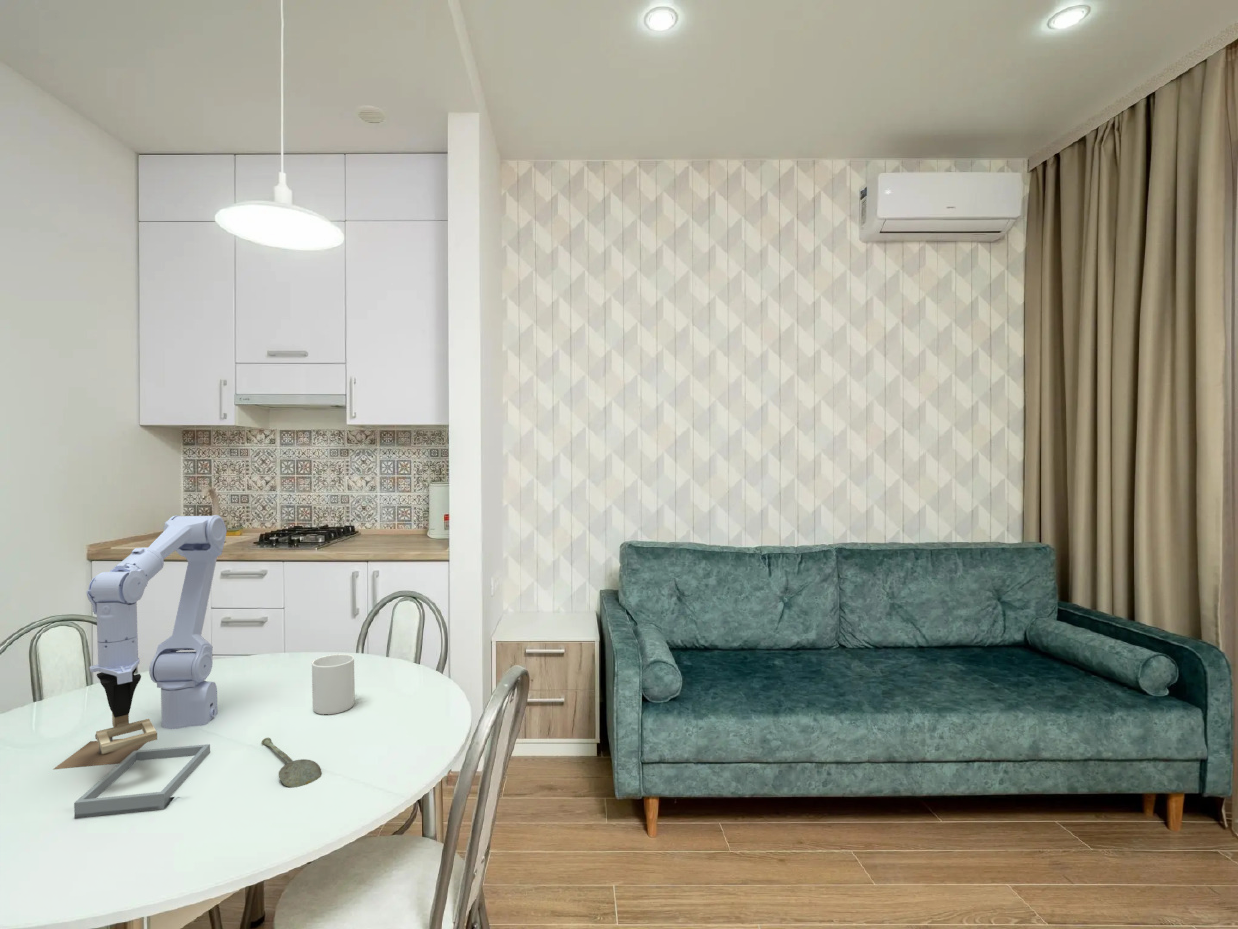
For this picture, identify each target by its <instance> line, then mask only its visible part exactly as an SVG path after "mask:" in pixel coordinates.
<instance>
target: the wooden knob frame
mask: <svg viewBox="0 0 1238 929" xmlns="http://www.w3.org/2000/svg"><path fill="white" fill-rule="evenodd" d="M111 716H112V718H111V719H112V720H111V721H112V727H109V728H106V729H102V730H101V729H100V730H97V731H95V735H96V739H95V740H96V741H97V742H98V744H99V747H100V750H101V752H102V754H105V753H109V752H113V751H116V750H120V749H124V748H128V747H131V746H135V745H139V744H143V743H145V744H147V743H150V742H154V741H157V740H158V732H157V730H156V728H155V727H154V725H153V723H152V722H151V719H150V718H146V719H142V720H138V721H137V720H136V721H132V722H130V720H129V719H130V713H129V714H128V715H124V716H120V717H116V718H115V717H114V715H113V713H112V712H111ZM141 730H142V732H143V733H141V734H140V733H139V734H136V735H133V736H128V737H124V738H119V739H120V740H117V741H113V742H110V740H109V738H110V737H112V738H114V737H118V736H121V735H125V734H131V733H133V732H137V731H141ZM146 742H147V743H146Z"/></svg>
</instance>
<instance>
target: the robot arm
mask: <svg viewBox="0 0 1238 929" xmlns="http://www.w3.org/2000/svg"><path fill="white" fill-rule="evenodd" d="M227 532H228V530H227V526H226V524H225V521H224V520H223V517H222V516H221V515H218V514H213V515H179V514H177V515H173V516H171V517H170V518H169V519H168V520H166V521H164V526H163V532H161V533H160V535H158V537H156V539H155V540H154V541H153V542H151V544H150V545H149V546H147V547H135V548H134V549H132V550H131V553H130V554H129V555H128V556H127V557H125V558H124V559H122V561H120V562H118V563H117V564H116V565H115V566H114V567H113V568H112V569H111V570H110V571H102V572H100V573H98V574H97V575H95V576H94V577H92V579H91V581H90V582H89V585H88V588H87V589H88V590H86V596H87V600H88V601H89V603H90V604H91V607H92V612H93V614H94V615H95V616H96V636H97V637H96V638H97V640H96V641H97V643H96V644H97V664H94V665H90V666H89V672H90V673H96V676H97V679H98V680H99V683H100V684H101V686H102V687H103V689H104V692H105V695H106V699H107V700H106V701H107V703H108V707H109V709H110V711H111V714H112V713H113V715H114V717H115V718H116V717H120V716H124V715H128V714H129V715H130V711H131V708H132V702H133V698H134V693H135V691H136V689H137V687H138V684H139V682H140V681H141V679H142V675H141V673H137V674H135V673H136V671H137V667H138V666H139V664H140V661H141V660H140V657H139V645H138V644H139V642H138V640H139V638H138V634H139V633H138V606H137V605H138V604H137V603H138V601H140V600H141V599H142V597H143V595H144V592H145V589H146V587H148V583H149V582H150V581H151V579H153V578H154V577H155V576H157V574H159V572H160V571H161V570H162V569H163V568H164V566H165V563H164V561H165V559H166V558H168V557H169V556H171V554H173V553H175V552H176V553H177V554H178V555H179V556H181V557H183V558H185V559H186V560H187V566H186V571H185V575H184V581H183V584H182V590H181V593H180V597H179V598H180V599H179V602H178V606H177V607H178V608H177V612H176V616H175V621H174V626H173V631H172V635H171V636H170V637H168V638H166V639H165V640H163V641H162V642H161V643H160V644H158V645H157V648H156V651H155V654H154V656H153V658H152V660H151V662H150V665H149V669H148V674H149V678H150V680H151V681H152V683H154V684H155V683H156V688H158V689H160V706H161V707H160V709H161V710H160V712H161V727H162V728H164V729H165V730H175V729H176V730H177V729H182V728H189V727H190V728H191V727H199V726H200V727H201V726H207V725H208V724H209V723H210V721H212V720H213V719H214V718H215V717H216V716H217V715H218V712H219V711H218V688H217V684H216V682H215V681H208V680H207V678H208V677H209V676H210V674H211V672H212V670H213V645H212V644H211V643H210V642H209V641H207V640H206V639H205V638H204V637H203V636H202V632H203V627H204V623H205V618H206V613H207V607H208V605H209V604H208V602H209V599H210V594H211V589H212V584H213V578H214V573H215V570H216V569H215V568H216V564H217V560H218V559H217V558H218V557H220V556H221V555H222V554H223V550H224V547H225V546H224V545H225V541H226V536H227ZM97 672H98V673H97ZM206 680H207V681H206Z"/></svg>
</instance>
